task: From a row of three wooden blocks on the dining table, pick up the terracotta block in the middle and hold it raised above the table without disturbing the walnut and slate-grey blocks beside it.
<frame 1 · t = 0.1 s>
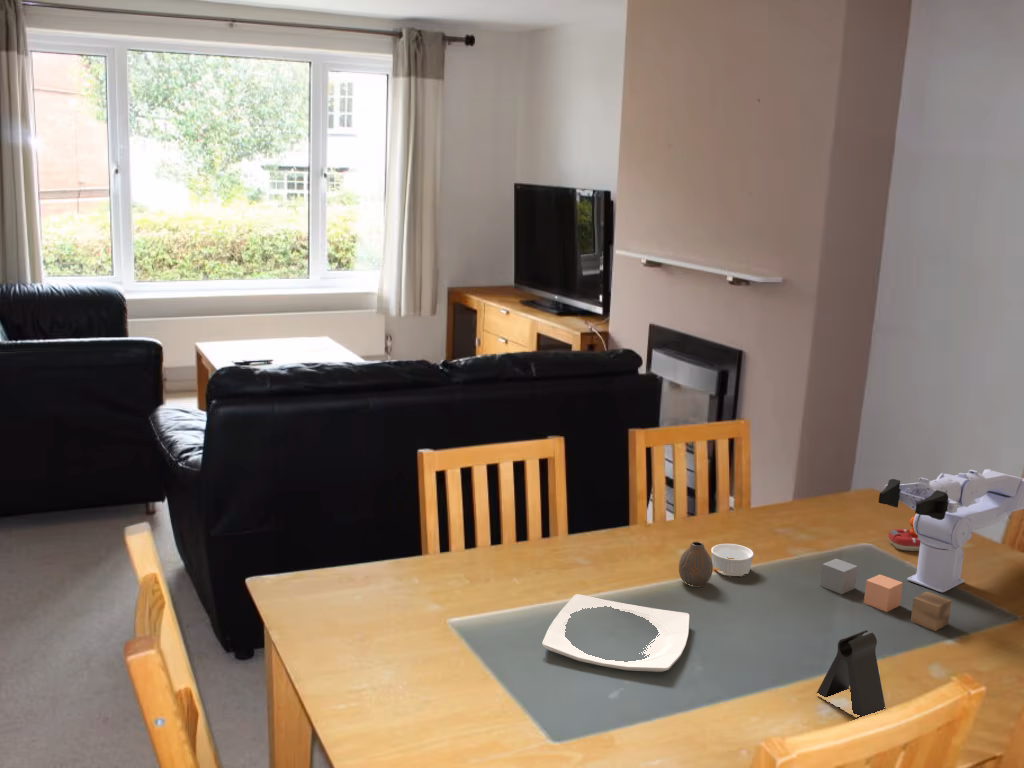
hand: (898, 503, 193), 22 cm above the table, tool horizontal, fingers open, 7 cm apart
slate block: (837, 587, 206), on the table
plate: (617, 642, 180), on the table
ramekin: (730, 570, 213), on the table
vase: (694, 584, 205), on the table
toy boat: (914, 548, 229), on the table
walnut block: (929, 623, 191), on the table
terracotta block: (881, 604, 198), on the table
phone stand: (850, 704, 161), on the table
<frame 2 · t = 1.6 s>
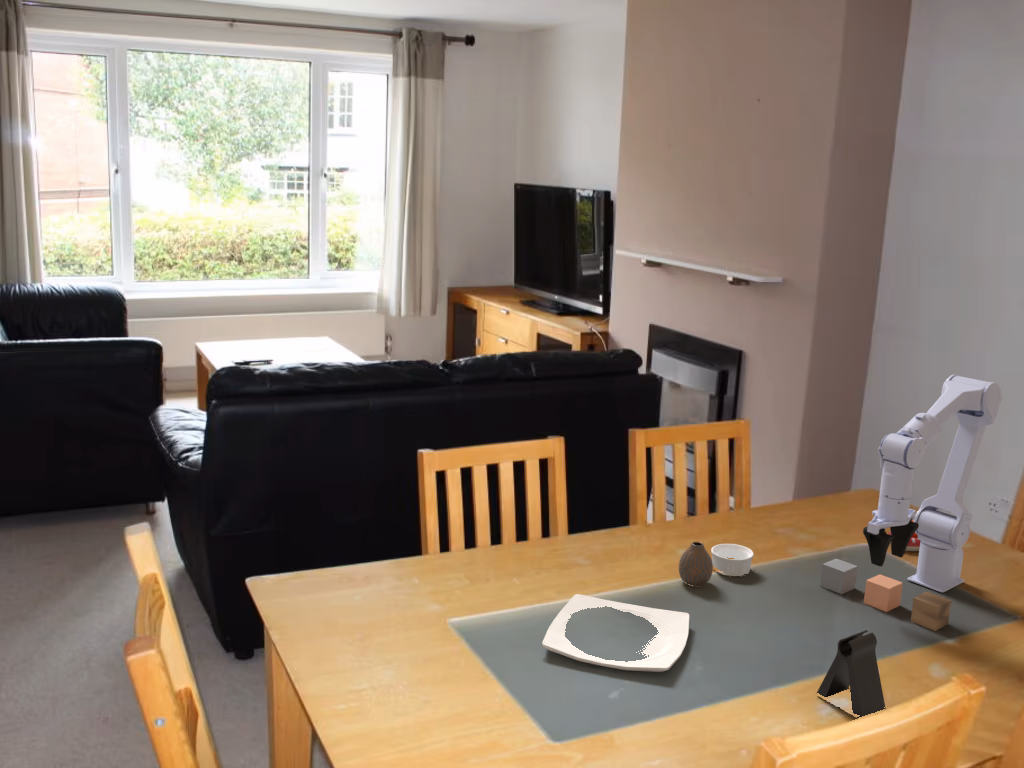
hand: (887, 560, 196), 9 cm above the table, tool pointing down, fingers open, 7 cm apart
nothing on the table moved.
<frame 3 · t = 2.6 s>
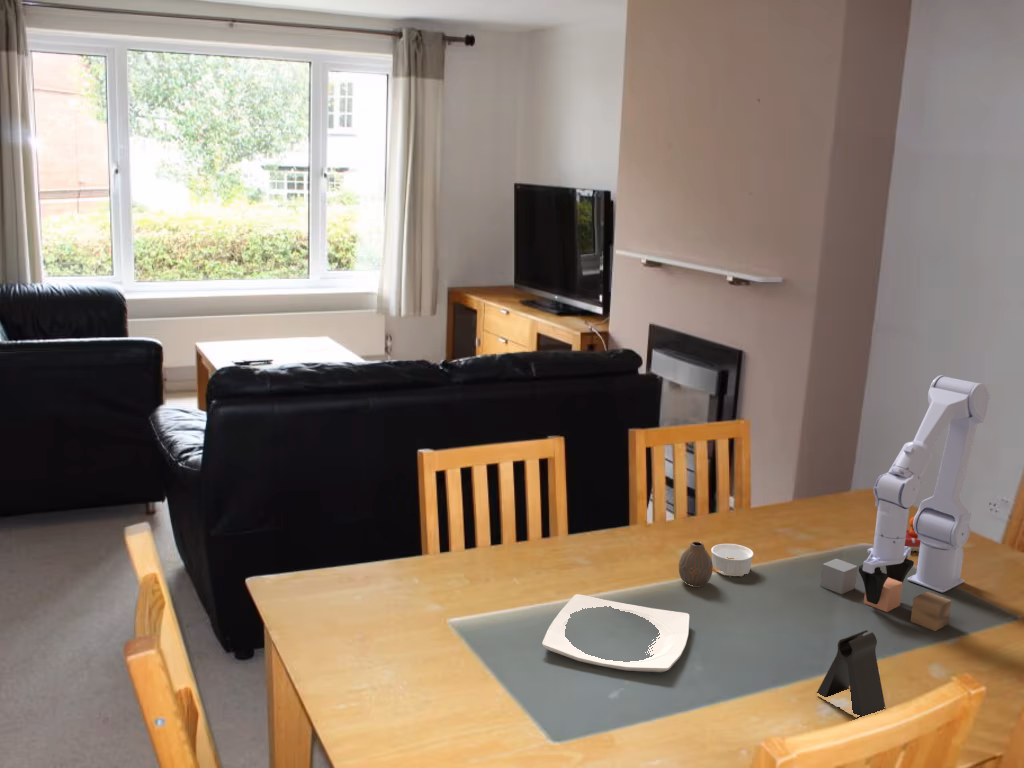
hand: (882, 597, 198), 1 cm above the table, tool pointing down, fingers open, 7 cm apart
nothing on the table moved.
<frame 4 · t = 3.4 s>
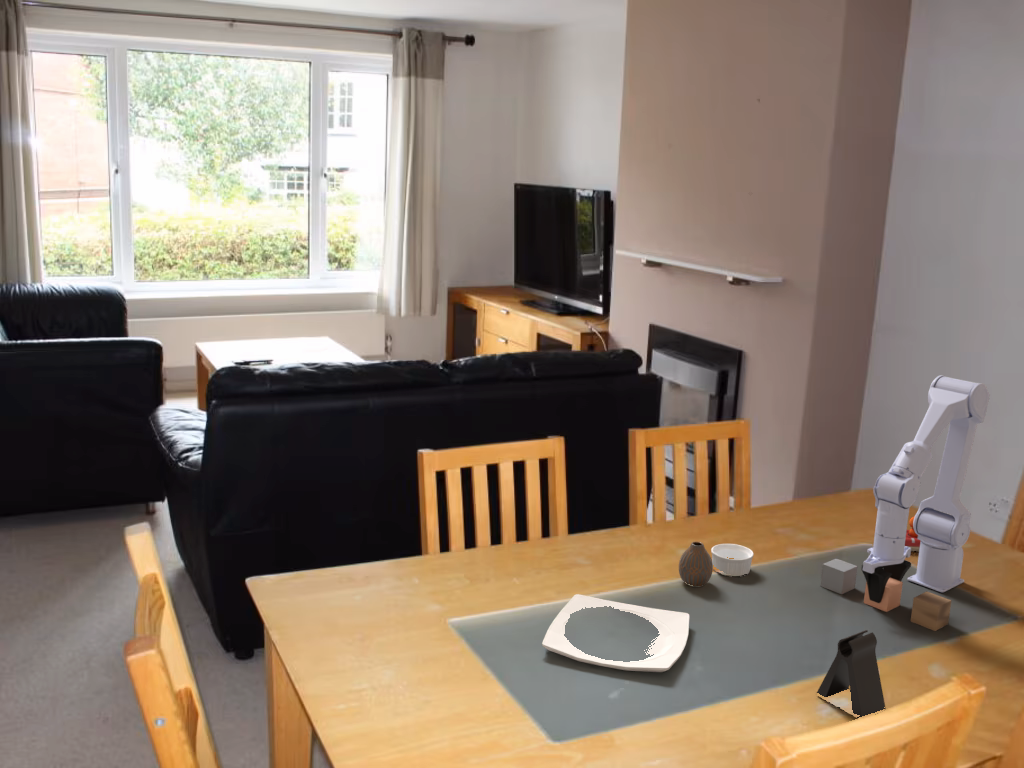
hand: (882, 597, 198), 1 cm above the table, tool pointing down, fingers closed on terracotta block, 5 cm apart
terracotta block: (881, 604, 198), on the table, touching gripper
everything else where it was.
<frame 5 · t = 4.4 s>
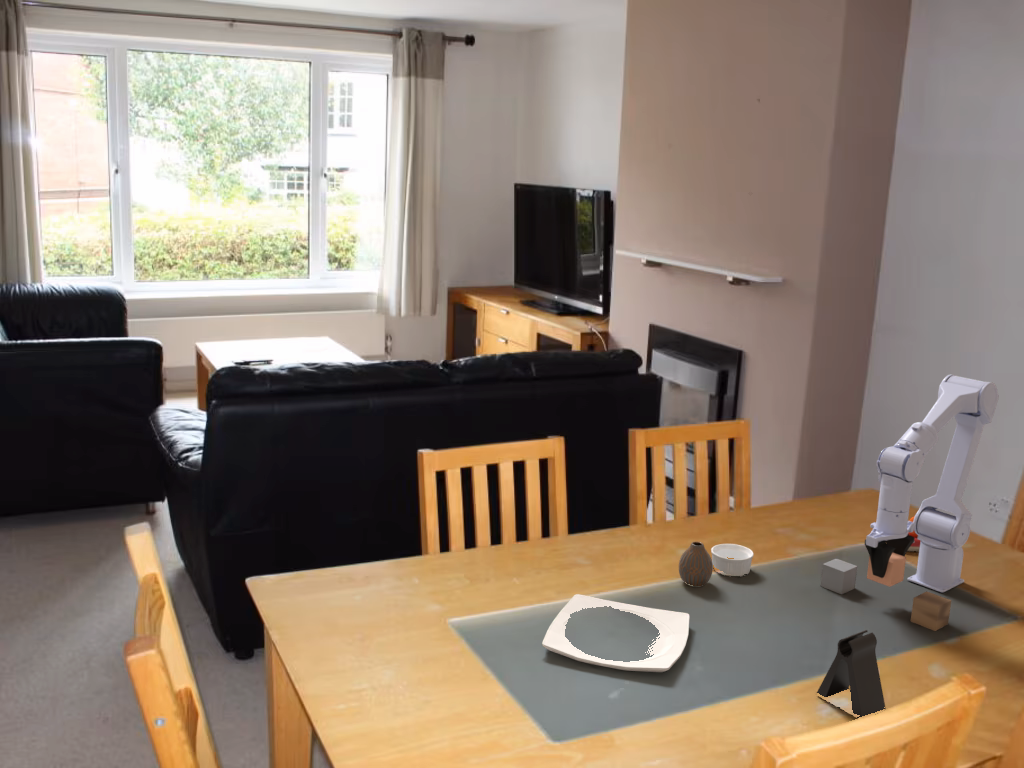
hand: (885, 572, 197), 7 cm above the table, tool pointing down, fingers closed on terracotta block, 5 cm apart
terracotta block: (884, 579, 197), point 5 cm above the table, touching gripper
everything else where it was.
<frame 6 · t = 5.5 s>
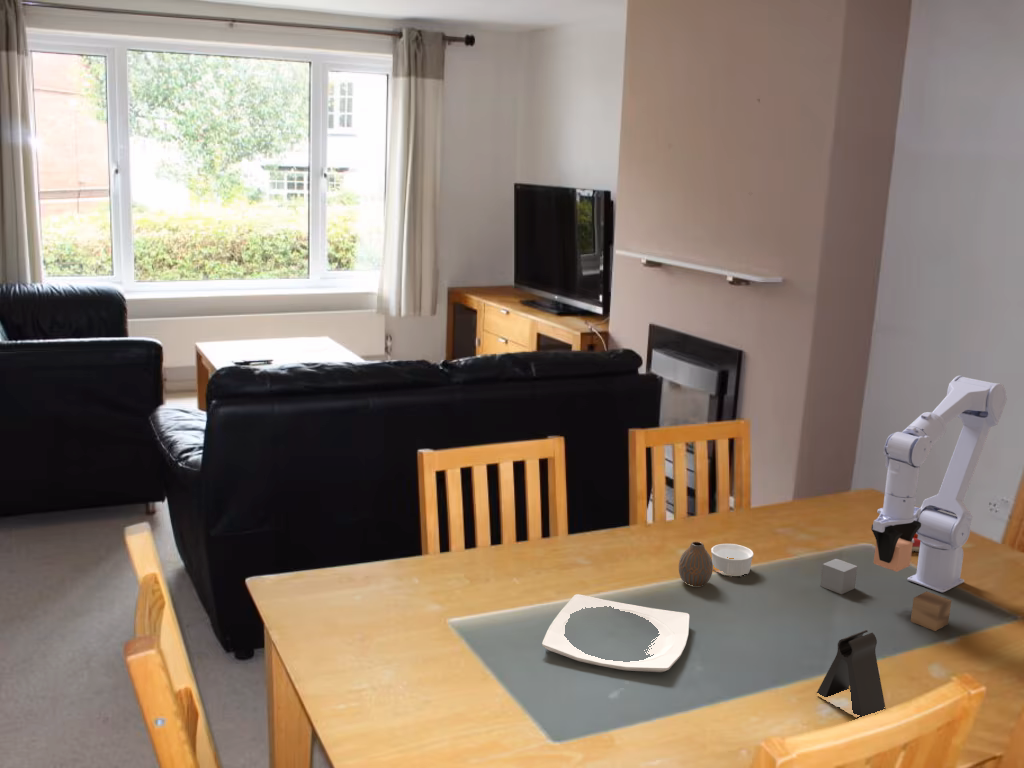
hand: (892, 557, 197), 9 cm above the table, tool pointing down, fingers closed on terracotta block, 5 cm apart
terracotta block: (891, 564, 198), point 8 cm above the table, touching gripper
everything else where it was.
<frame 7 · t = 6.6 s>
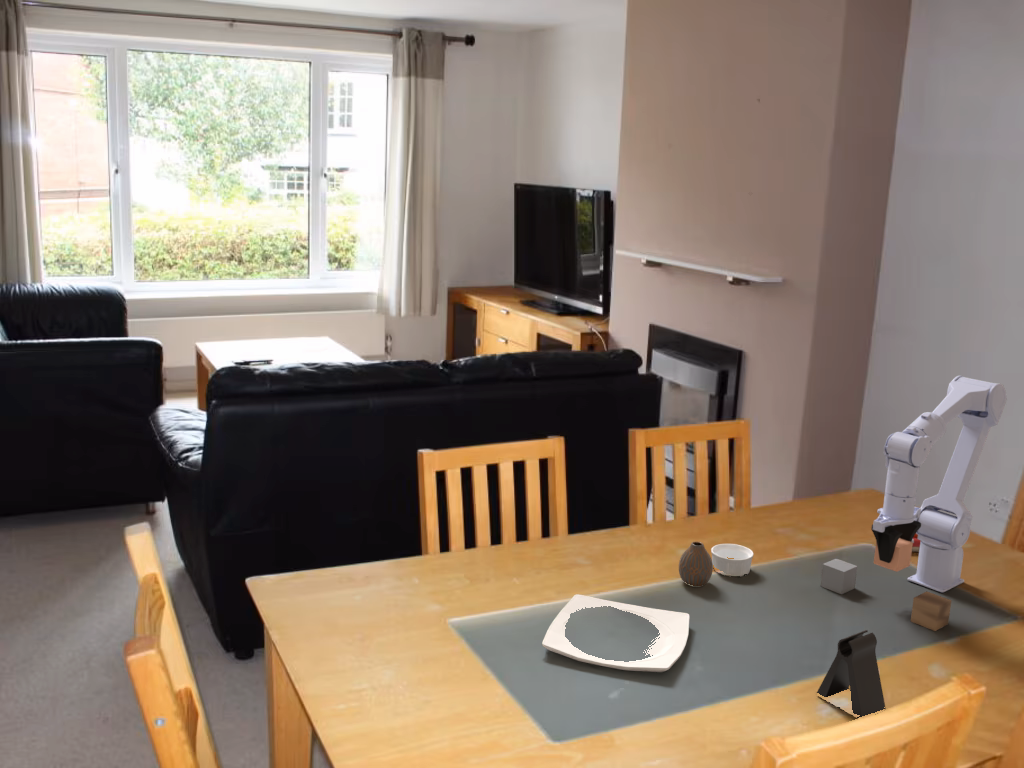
hand: (892, 557, 197), 9 cm above the table, tool pointing down, fingers closed on terracotta block, 5 cm apart
terracotta block: (891, 564, 198), point 8 cm above the table, touching gripper
everything else where it was.
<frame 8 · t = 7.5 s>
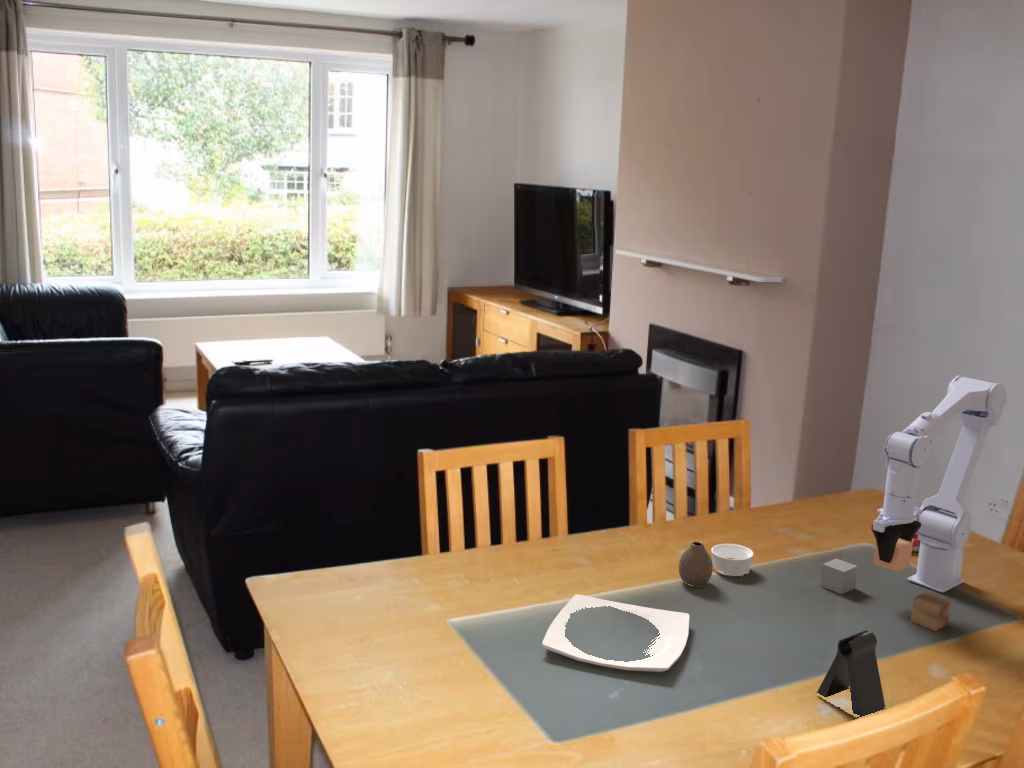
hand: (892, 557, 197), 9 cm above the table, tool pointing down, fingers closed on terracotta block, 5 cm apart
terracotta block: (891, 564, 198), point 8 cm above the table, touching gripper
everything else where it was.
at the end: terracotta block point 7.9 cm above the table; walnut block moved 0.1 cm from its start; slate block moved 0.1 cm from its start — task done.
